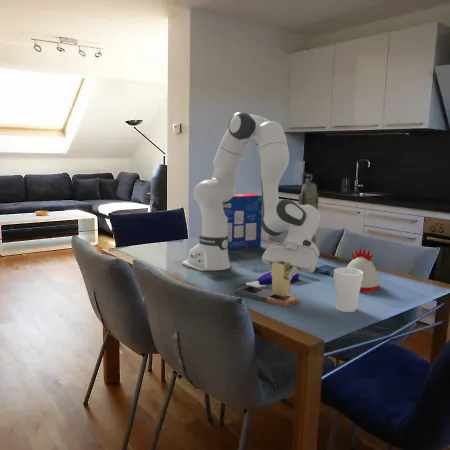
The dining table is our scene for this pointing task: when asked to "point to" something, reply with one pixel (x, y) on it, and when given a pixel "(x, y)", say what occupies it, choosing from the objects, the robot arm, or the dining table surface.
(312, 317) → the dining table surface
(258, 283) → the purple flat blob
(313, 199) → the olive green tall piece
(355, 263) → the kitchen timer
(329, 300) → the dining table surface
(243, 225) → the pasta box
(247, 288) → the peg insertion board
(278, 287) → the tan square peg
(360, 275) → the foam cup
